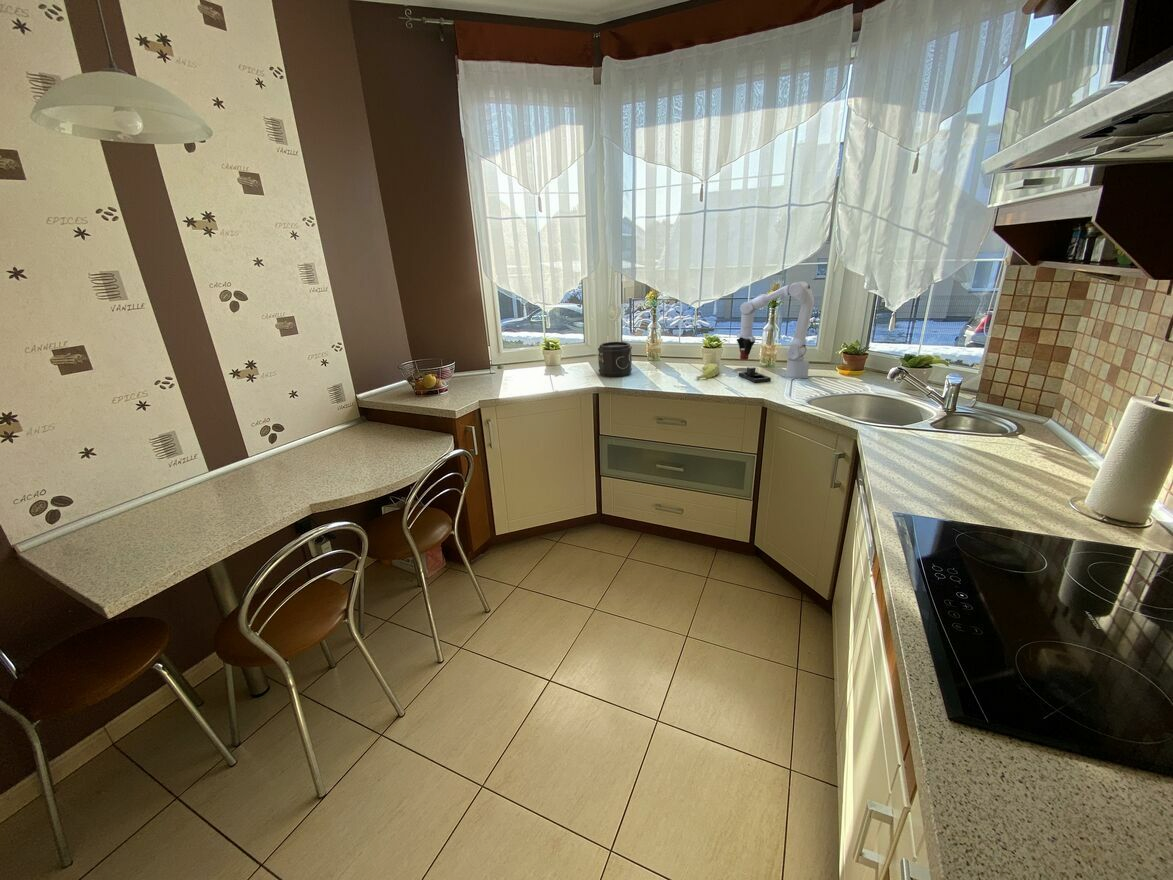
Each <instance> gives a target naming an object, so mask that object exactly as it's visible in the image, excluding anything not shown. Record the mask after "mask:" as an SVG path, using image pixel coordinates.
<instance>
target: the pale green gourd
mask: <svg viewBox="0 0 1173 880" xmlns="http://www.w3.org/2000/svg"><path fill="white" fill-rule="evenodd" d="M719 369H720V368H719V365H718V364H717V363H712V362H711V363H706V364H704V365H703V366H702V368H701V370H702V371H704V372H703V373H702V374H701V375H699V376H697V375H696V381H698V380H700V379H703V378H704V379H711V378H714V377H715V376H716V375H718V374H719V373H720V370H719Z"/></svg>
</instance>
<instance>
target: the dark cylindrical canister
mask: <svg viewBox="0 0 1173 880" xmlns="http://www.w3.org/2000/svg"><path fill="white" fill-rule="evenodd" d="M632 349H633V347H632V345H631V344H630V343H629V342H626V341H607V342H602V343H600V345H599V347H598V348H597V351H598V354H597V356H598V361H597V362H598V368H599V369H598V372H599V373H600V375H601V376H602V377H604V378H605V377H606V378H623V377H627V376H629V375H630V374H631V371H633V367H632V362H633V359H632V358H633V355H632Z"/></svg>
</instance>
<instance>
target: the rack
mask: <svg viewBox="0 0 1173 880" xmlns="http://www.w3.org/2000/svg"><path fill="white" fill-rule="evenodd" d="M746 374H747V372H740V371H739V372H738V377H739V378H742V379H743V380H746V381H748V382H750V383H752V384H763V383H771V381H772V378H771V377H769V376H767V375H765V374H762V373H759V372H757V371H755V375H746Z"/></svg>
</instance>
